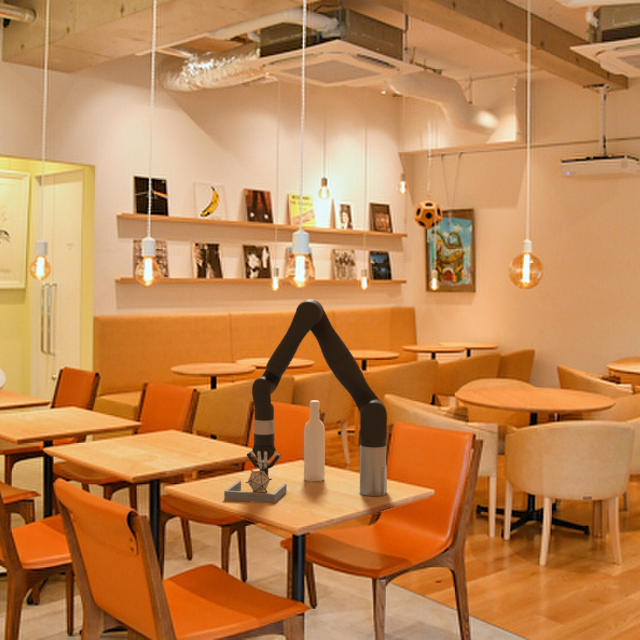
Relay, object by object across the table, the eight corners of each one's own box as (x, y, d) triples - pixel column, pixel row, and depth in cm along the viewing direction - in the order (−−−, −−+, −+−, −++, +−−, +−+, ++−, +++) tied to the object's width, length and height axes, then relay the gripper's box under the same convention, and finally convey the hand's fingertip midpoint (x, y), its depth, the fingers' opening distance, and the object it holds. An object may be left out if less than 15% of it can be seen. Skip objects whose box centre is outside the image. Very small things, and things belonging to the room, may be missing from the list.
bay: (286, 492, 299) (286, 484, 299) (274, 503, 284) (274, 494, 284) (238, 489, 303) (238, 480, 303) (224, 499, 289) (224, 491, 288)
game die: (262, 503, 298) (267, 485, 292) (240, 493, 299) (245, 475, 293) (271, 485, 305) (277, 468, 299) (250, 476, 306) (255, 458, 300)
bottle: (319, 483, 313) (319, 403, 312) (300, 480, 316) (300, 401, 315) (328, 478, 320) (328, 400, 319) (309, 476, 324) (310, 398, 322)
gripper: (284, 430, 304) (284, 478, 305) (249, 428, 308) (249, 475, 309) (278, 434, 297) (278, 483, 298) (243, 432, 300) (243, 480, 301)
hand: (263, 479), depth 303 cm, fingers closed
